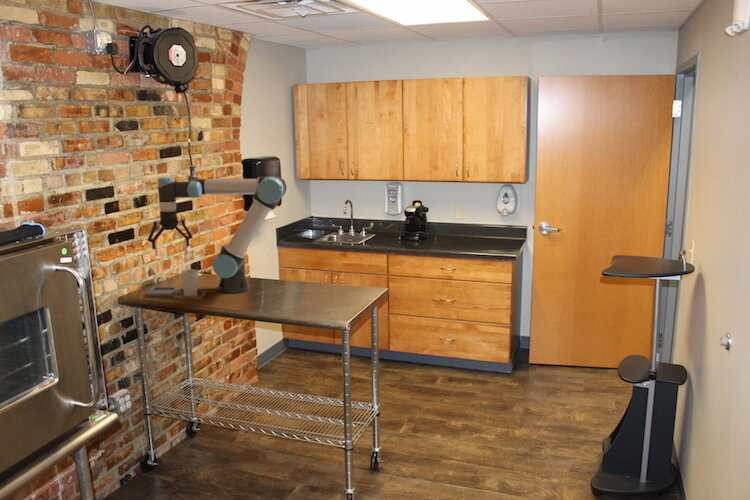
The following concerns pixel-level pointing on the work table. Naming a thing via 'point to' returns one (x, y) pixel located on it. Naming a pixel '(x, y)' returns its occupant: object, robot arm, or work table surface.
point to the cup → (190, 282)
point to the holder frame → (190, 296)
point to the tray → (162, 292)
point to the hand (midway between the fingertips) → (171, 254)
